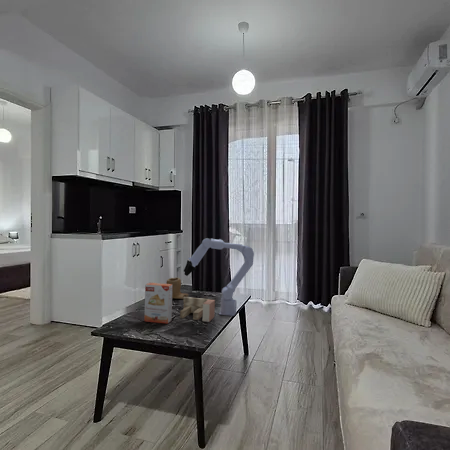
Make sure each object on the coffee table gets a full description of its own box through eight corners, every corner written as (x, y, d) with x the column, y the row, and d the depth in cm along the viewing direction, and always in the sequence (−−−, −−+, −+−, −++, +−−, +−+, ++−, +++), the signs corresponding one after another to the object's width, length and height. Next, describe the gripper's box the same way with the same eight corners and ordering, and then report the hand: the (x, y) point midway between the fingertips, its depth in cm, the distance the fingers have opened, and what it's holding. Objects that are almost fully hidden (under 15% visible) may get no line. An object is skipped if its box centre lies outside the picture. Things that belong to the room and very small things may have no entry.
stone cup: (162, 299, 226) (163, 278, 226) (169, 295, 238) (170, 275, 238) (183, 301, 223) (183, 279, 222) (188, 297, 234) (189, 277, 234)
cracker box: (143, 322, 175) (144, 284, 175) (148, 318, 181) (149, 282, 181) (167, 324, 172) (168, 285, 172) (171, 320, 178) (172, 283, 178)
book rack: (208, 313, 194) (209, 299, 194) (201, 320, 181) (201, 304, 181) (184, 311, 198) (184, 296, 198) (175, 317, 185) (175, 302, 185)
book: (214, 316, 188) (214, 300, 188) (209, 322, 178) (209, 304, 178) (208, 316, 189) (208, 299, 189) (202, 321, 179) (202, 303, 179)
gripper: (192, 249, 200) (179, 267, 200) (194, 253, 186) (180, 272, 186) (201, 255, 202) (188, 273, 201) (203, 260, 188) (190, 279, 187)
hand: (185, 273), depth 194 cm, fingers open, 7 cm apart
